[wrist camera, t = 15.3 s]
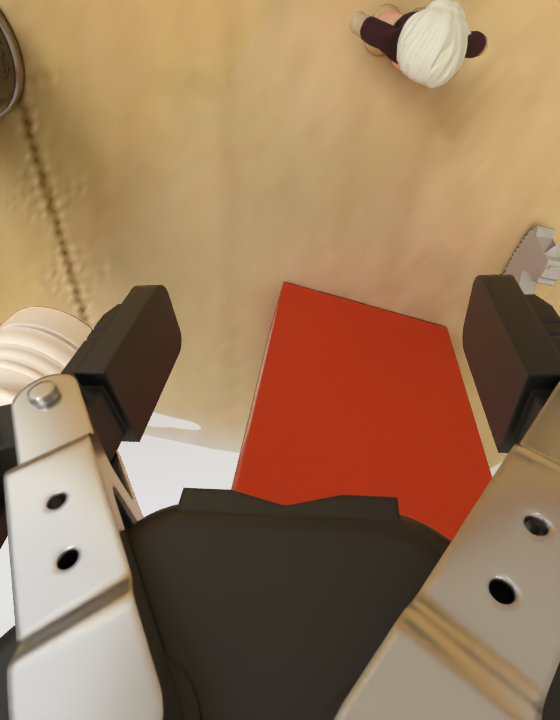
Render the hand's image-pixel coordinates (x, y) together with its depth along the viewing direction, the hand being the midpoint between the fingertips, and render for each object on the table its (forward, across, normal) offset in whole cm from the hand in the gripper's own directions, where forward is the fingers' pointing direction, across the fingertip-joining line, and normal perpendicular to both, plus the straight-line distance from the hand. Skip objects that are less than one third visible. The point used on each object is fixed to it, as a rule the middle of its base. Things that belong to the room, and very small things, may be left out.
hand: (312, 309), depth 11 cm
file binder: (+27, -2, +21) cm, 35 cm away
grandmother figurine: (+27, -5, -4) cm, 28 cm away
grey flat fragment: (+27, -16, +14) cm, 35 cm away
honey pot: (+28, +34, +24) cm, 50 cm away
